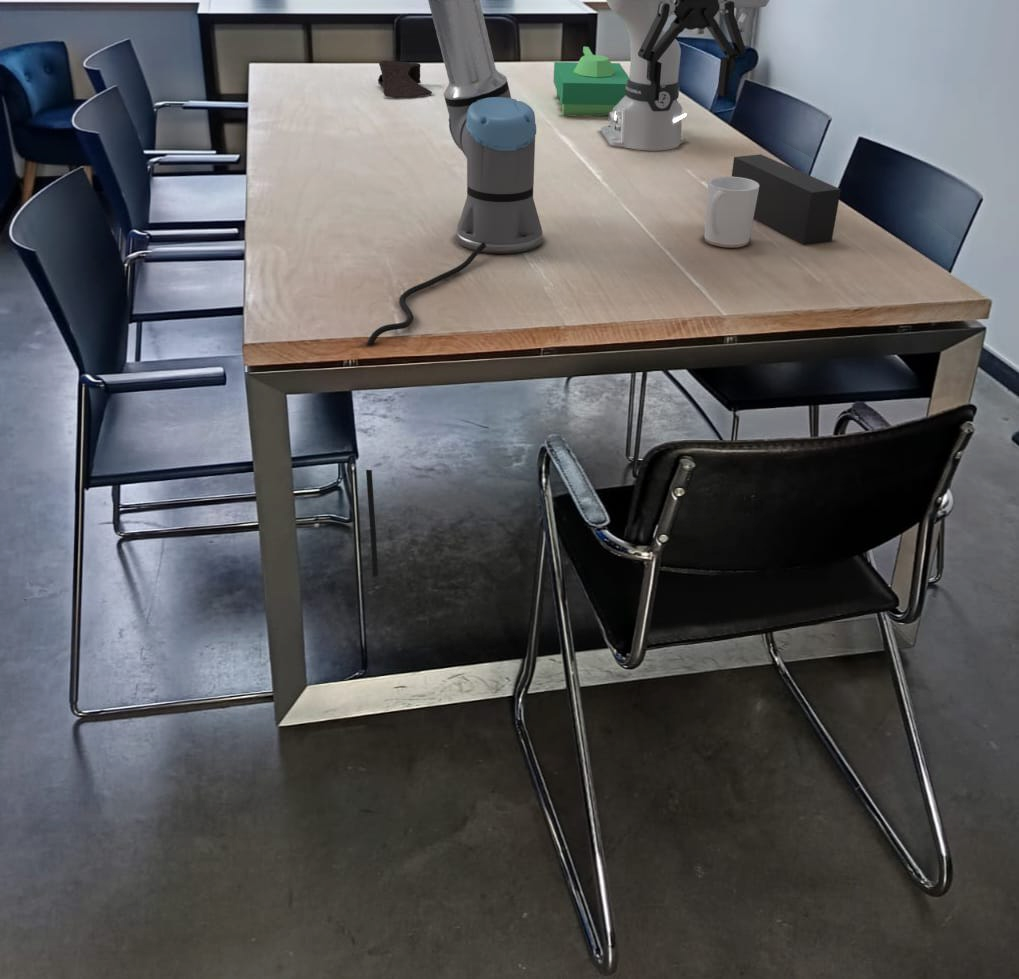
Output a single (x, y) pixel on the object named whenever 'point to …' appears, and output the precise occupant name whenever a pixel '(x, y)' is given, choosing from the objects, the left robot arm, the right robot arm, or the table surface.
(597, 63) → the toy tank
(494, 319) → the table surface
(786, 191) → the box
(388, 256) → the table surface
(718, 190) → the mug
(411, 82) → the axe head
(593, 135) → the table surface
